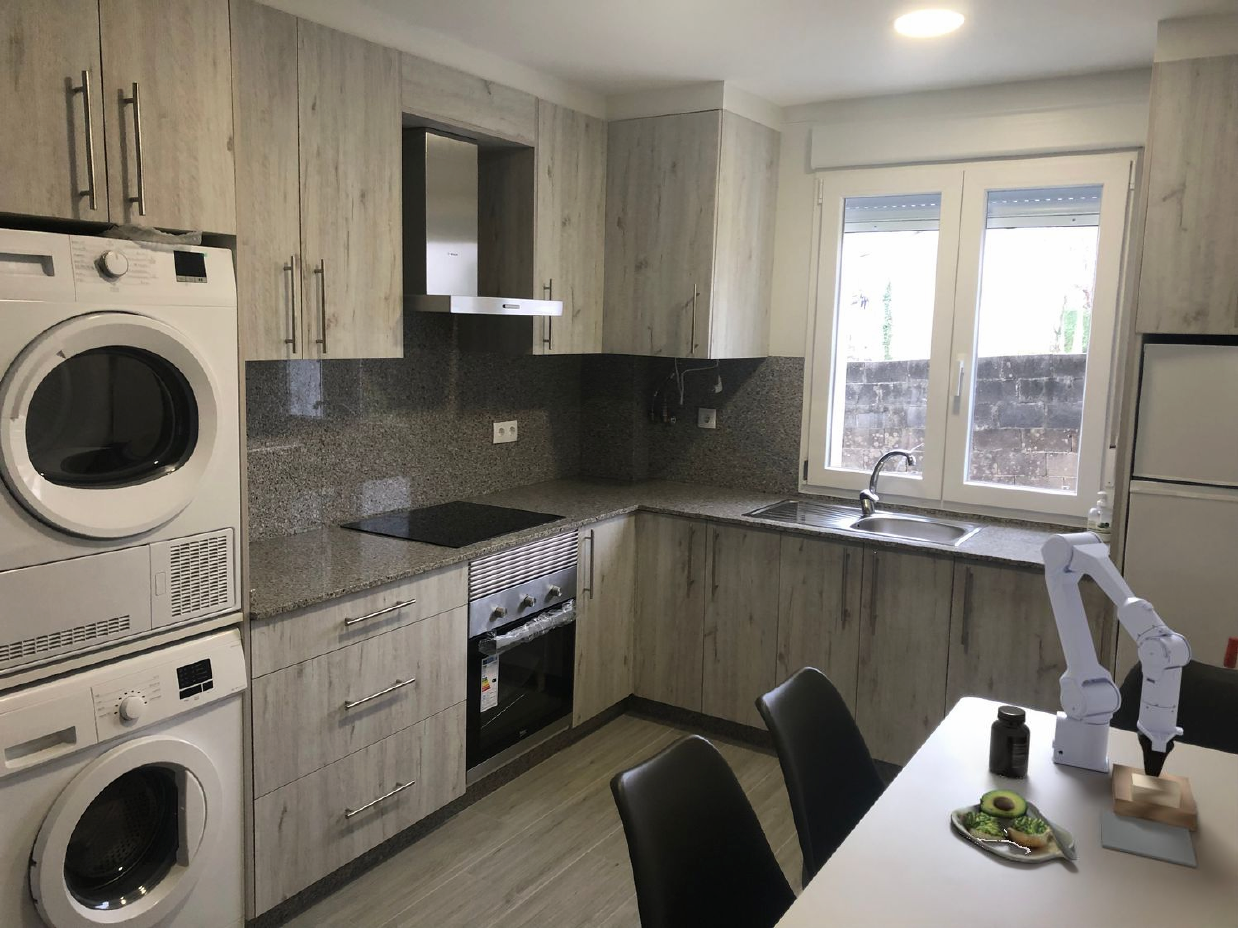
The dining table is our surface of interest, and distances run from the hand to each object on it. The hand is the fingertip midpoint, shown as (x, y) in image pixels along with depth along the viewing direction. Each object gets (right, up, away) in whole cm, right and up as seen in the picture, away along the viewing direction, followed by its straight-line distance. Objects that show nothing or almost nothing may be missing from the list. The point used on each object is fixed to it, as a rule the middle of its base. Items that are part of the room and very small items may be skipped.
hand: (1151, 774), depth 170 cm
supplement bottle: (-22, -2, +8) cm, 24 cm away
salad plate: (-31, -6, -14) cm, 34 cm away
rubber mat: (-9, -6, -15) cm, 18 cm away
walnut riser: (-2, -4, -3) cm, 5 cm away
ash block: (-3, -2, -7) cm, 8 cm away
